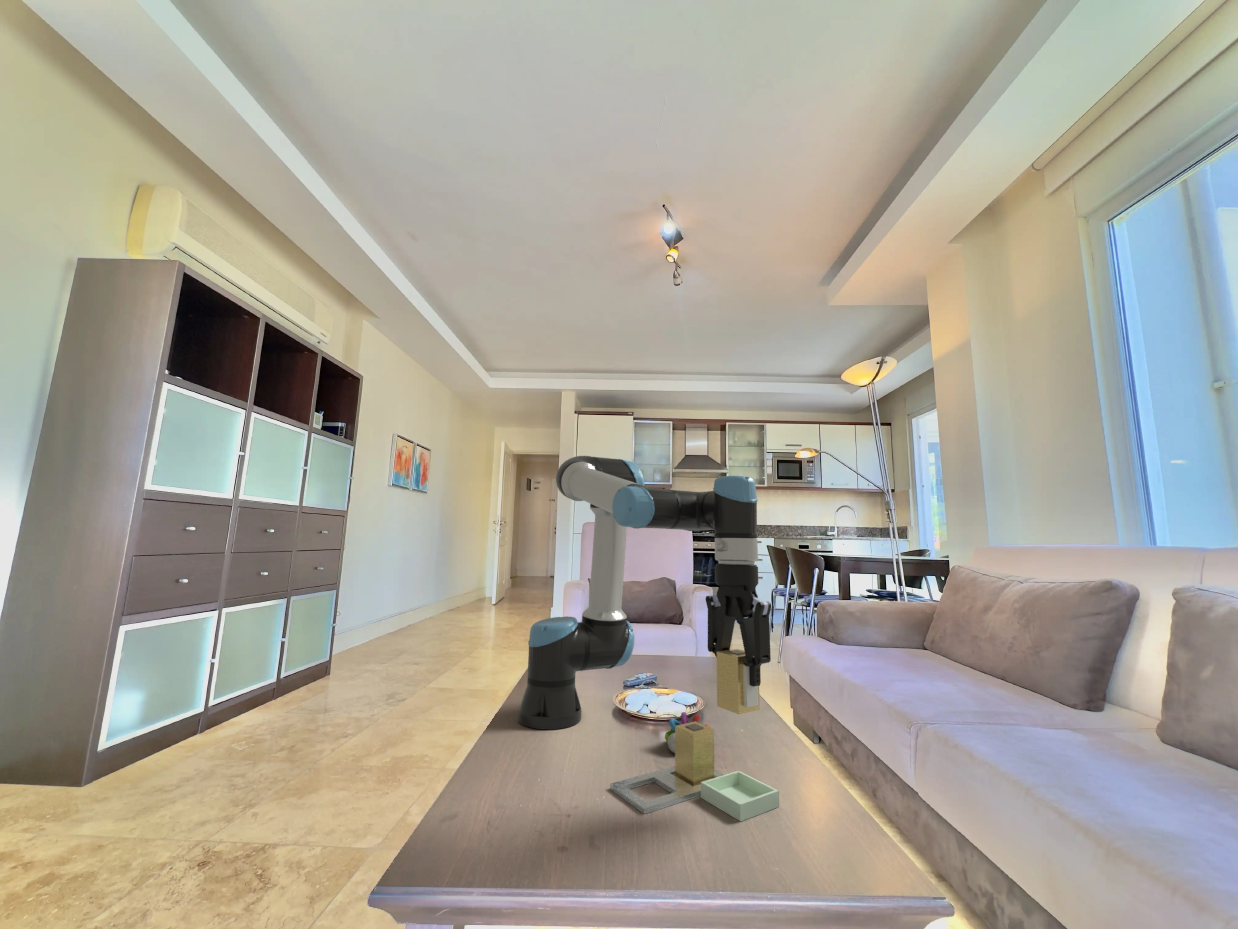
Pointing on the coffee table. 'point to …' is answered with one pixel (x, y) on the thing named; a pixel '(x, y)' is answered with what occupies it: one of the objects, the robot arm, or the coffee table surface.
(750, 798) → the tray
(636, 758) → the coffee table surface
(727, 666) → the brass block
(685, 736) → the tan textured tower
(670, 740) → the colorful toy
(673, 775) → the grey frame plate
